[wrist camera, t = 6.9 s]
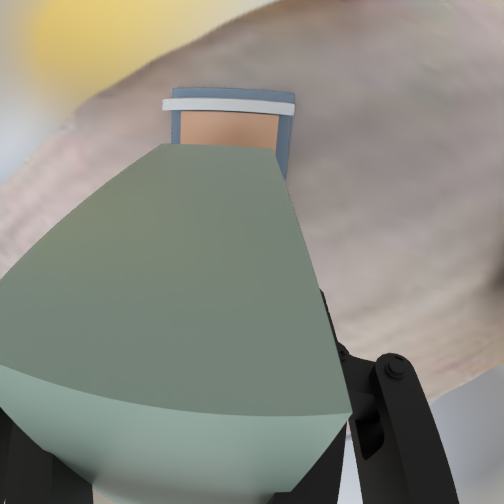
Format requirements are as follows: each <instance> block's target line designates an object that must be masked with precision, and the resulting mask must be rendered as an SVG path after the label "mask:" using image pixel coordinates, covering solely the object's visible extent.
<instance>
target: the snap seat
mask: <svg viewBox="0 0 504 504" xmlns="http://www.w3.org/2000/svg"><path fill="white" fill-rule="evenodd" d="M278 121H279V115H273V114H262V113H248V112H229V111H181V139H180V144H202V145H227V146H244V147H258V148H270V149H273V151H274V154H275V153H276V142H277V132H278Z"/></svg>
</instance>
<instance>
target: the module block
mask: <svg viewBox="0 0 504 504" xmlns="http://www.w3.org/2000/svg"><path fill="white" fill-rule="evenodd" d="M0 407H1V408H2V409H3V410H4V412H5V413H6V414H7V415H8V416H9V417H10V418H11V419H12V420H13V421H14V422H15V423H16V424H17V425H18V426H19V427H20V428H21V429H22V430H23V431H24V432H25V433H26V434H27V435H28V436H29V437H30V438H31V439H32V440H33V441H34V442H35V443H36V444H37V445H38V446H40V447H41V448H42V449H43V450H45V451H48V452H50V453H52V454H54V455H55V456H56V457H57V458H58V459H59V460H61V461H62V462H63V463H64V464H65V465H67V466H68V467H69V468H70V469H72V470H73V471H74V472H75V473H77V474H78V475H79V476H81V477H82V478H83V479H85V480H86V481H87V482H89V483H90V484H92V488H93V489H94V490H96V491H98V492H99V493H100V494H102V495H103V496H105V497H107V498H108V499H110V500H112V501H113V502H115V503H116V504H267V503H268V501H269V500H270V499H271V497H272V496H273V495H274V493H275V492H291V491H292V489H293V488H294V487H295V486H296V485H297V484H298V483H299V482H300V480H301V479H302V478H303V477H304V476H305V475H306V474H307V472H308V471H309V470H310V469H311V468H312V466H313V465H314V464H315V463H316V461H317V460H318V459H319V458H320V456H321V455H322V454H323V453H324V451H325V450H326V449H327V447H328V446H329V445H330V444H331V442H332V441H333V440H334V438H335V437H336V435H337V434H338V433H339V431H340V430H341V429H342V427H343V426H344V424H345V423H346V422H347V420H348V419H349V417H350V416H351V414H352V413H353V412H352V408H351V404H350V399H349V395H348V391H347V387H346V383H345V379H344V375H343V371H342V367H341V364H340V360H339V356H338V352H337V348H336V345H335V341H334V337H333V334H332V330H331V327H330V323H329V320H328V316H327V313H326V309H325V306H324V302H323V299H322V295H321V292H320V289H319V285H318V282H317V279H316V275H315V272H314V269H313V266H312V263H311V259H310V256H309V253H308V250H307V247H306V244H305V241H304V237H303V234H302V231H301V228H300V225H299V222H298V219H297V216H296V213H295V210H294V207H293V205H292V202H291V199H290V196H289V193H288V190H287V187H286V184H285V182H284V179H283V176H282V173H281V170H280V168H279V165H278V162H277V159H276V157H275V154H274V151H273V149H270V148H258V147H244V146H227V145H202V144H161V145H159V146H158V147H156V148H155V149H153V150H152V151H150V152H149V153H147V154H146V155H145V156H143V157H142V158H140V159H139V160H137V161H136V162H134V163H133V164H132V165H130V166H129V167H127V168H126V169H125V170H123V171H122V172H121V173H119V174H118V175H116V176H115V177H114V178H112V179H111V180H110V181H108V182H107V183H106V184H105V185H103V186H102V187H101V188H99V189H98V190H97V191H96V192H94V193H93V194H92V195H91V196H89V197H88V198H87V199H86V200H84V201H83V202H82V203H81V204H79V205H78V206H77V207H76V208H75V209H74V210H72V211H71V212H70V213H69V214H68V215H66V216H65V217H64V218H63V219H62V220H61V221H60V222H58V223H57V224H56V225H55V226H54V227H53V228H52V229H51V230H50V231H49V232H47V233H46V234H45V235H44V236H43V237H42V238H41V239H40V240H39V241H38V242H37V243H36V244H35V245H34V246H33V247H32V248H31V249H30V250H29V251H28V252H27V253H26V254H25V255H24V256H23V257H22V258H21V259H20V260H19V261H18V262H17V263H16V264H15V265H14V266H13V267H12V268H11V269H10V270H9V271H8V272H7V273H6V274H5V275H4V276H3V278H2V279H1V280H0Z"/></svg>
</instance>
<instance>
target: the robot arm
mask: <svg viewBox="0 0 504 504" xmlns="http://www.w3.org/2000/svg"><path fill="white" fill-rule="evenodd" d="M319 289H320V288H319ZM320 292H321V295H322V299H323V302H324V306H325V309H326V313H327V316H328V320H329V323H330V327H331V330H332V334H333V337H334V341H335V345H336V348H337V352H338V356H339V360H340V364H341V367H342V371H343V375H344V379H345V383H346V387H347V391H348V395H349V399H350V404H351V408H352V412H353V413H352V414H351V416H350V417H349V419H348V421H349V426H350V431H351V436H352V441H353V446H354V452H355V457H356V463H357V468H358V475H359V481H360V487H361V493H362V500H363V504H459V501H458V497H457V493H456V489H455V485H454V481H453V478H452V474H451V471H450V467H449V464H448V461H447V457H446V454H445V451H444V448H443V445H442V442H441V439H440V436H439V433H438V430H437V427H436V424H435V421H434V419H433V416H432V413H431V410H430V407H429V405H428V402H427V400H426V397H425V394H424V392H423V389H422V387H421V384H420V382H419V379H418V377H417V374H416V372H415V370H414V367H413V366H412V364H411V363H410V361H408V360H407V359H406V358H405V357H403V356H401V355H398V354H394V353H387V354H383V355H381V356H380V357H379V358H378V359H377V361H376V362H373V361H369V360H364V359H360V358H357V357H354V356H352V355H350V354H349V352H348V350H347V349H346V348H345V346H344V345H342V344H341V343H339V342H338V340H337V337H336V334H335V330H334V327H333V323H332V320H331V317H330V313H329V312H328V306H327V304H326V300H325V297H324V293H323V292H322V290H321V289H320ZM346 427H347V422H346V423H345V424H344V426H343V427H342V429H341V430H340V431H339V433H338V434H337V435H336V437H335V438H334V440H333V441H332V442H331V444H330V445H329V446H328V447H327V449H326V450H325V451H324V453H323V454H322V455H321V456H320V458H319V459H318V460H317V461H316V463H315V464H314V465H313V466H312V468H311V469H310V470H309V471H308V472H307V474H306V475H305V476H304V477H303V478H302V479H301V480H300V482H299V483H298V484H297V485H296V486H295V487H294V488H293V489H292V491H291V492H275V493H274V495H273V496H272V497H271V499H270V500H269V501H268V503H267V504H337V501H338V495H339V488H340V481H341V473H342V466H343V457H344V448H345V438H346ZM4 501H5V504H93V493H92V484H90V483H89V482H87V481H86V480H85V479H83V478H82V477H81V476H79V475H78V474H77V473H75V472H74V471H73V470H72V469H70V468H69V467H68V466H67V465H65V464H64V463H63V462H62V461H61V460H59V459H58V458H57V457H56V456H55V455H54V454H52V453H50V452H48V451H45V450H43V449H42V448H41V447H40V446H38V445H37V444H36V443H35V442H34V441H33V440H32V439H31V438H30V437H29V436H28V435H27V434H26V433H25V432H24V431H23V430H22V429H21V428H20V427H19V426H18V425H17V424H16V423H15V422H14V421H13V420H12V419H11V418H10V417H9V416H8V415H7V414H6V413H5V412H4V410H3V409H2V408H1V407H0V504H4Z"/></svg>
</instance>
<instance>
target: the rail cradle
mask: <svg viewBox="0 0 504 504" xmlns="http://www.w3.org/2000/svg"><path fill="white" fill-rule="evenodd" d="M163 110H172V144H180V139H181V111H229V112H248V113H262V114H273V115H279V121H278V132H277V142H276V153H275V157H276V159H277V162H278V165H279V168H280V170H281V173H282V176H283V179H284V182H285V179H286V170H287V161H288V152H289V143H290V133H291V124H292V116H294V110H295V104H294V93H285V92H275V91H264V90H251V89H232V88H173V97H172V98H168V99H163Z"/></svg>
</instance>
